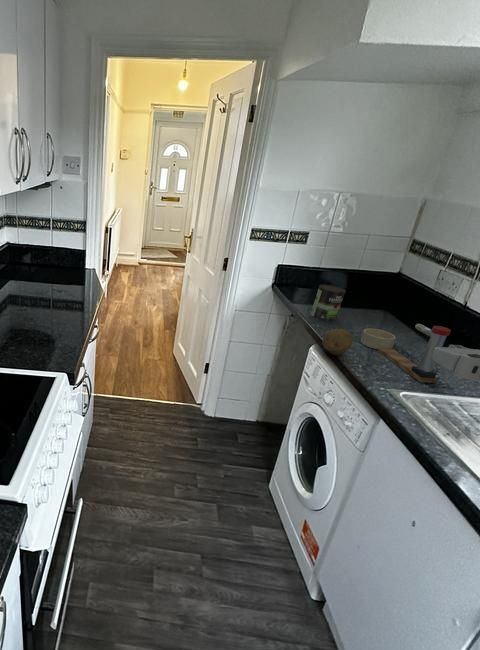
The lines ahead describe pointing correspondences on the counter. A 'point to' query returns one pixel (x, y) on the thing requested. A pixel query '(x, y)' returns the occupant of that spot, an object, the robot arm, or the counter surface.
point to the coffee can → (327, 302)
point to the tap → (430, 349)
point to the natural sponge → (337, 341)
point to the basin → (377, 339)
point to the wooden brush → (404, 364)
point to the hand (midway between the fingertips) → (453, 347)
